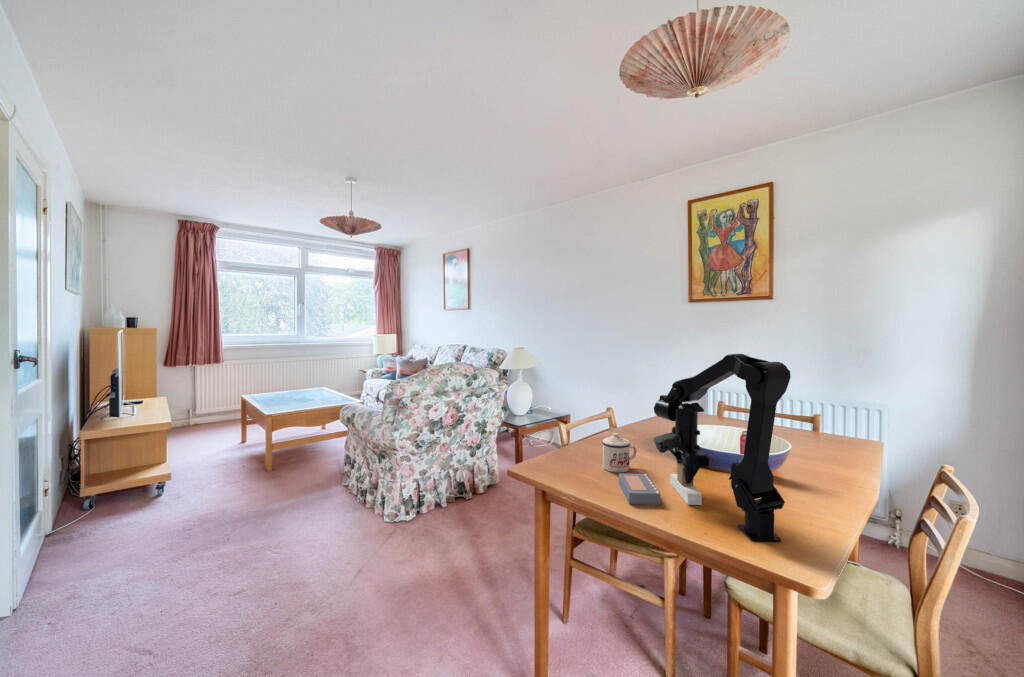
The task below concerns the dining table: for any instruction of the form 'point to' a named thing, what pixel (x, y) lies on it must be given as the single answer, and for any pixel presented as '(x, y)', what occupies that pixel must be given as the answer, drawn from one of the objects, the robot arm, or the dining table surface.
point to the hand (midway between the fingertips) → (685, 480)
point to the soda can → (742, 441)
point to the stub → (685, 487)
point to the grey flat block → (639, 489)
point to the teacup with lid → (617, 453)
